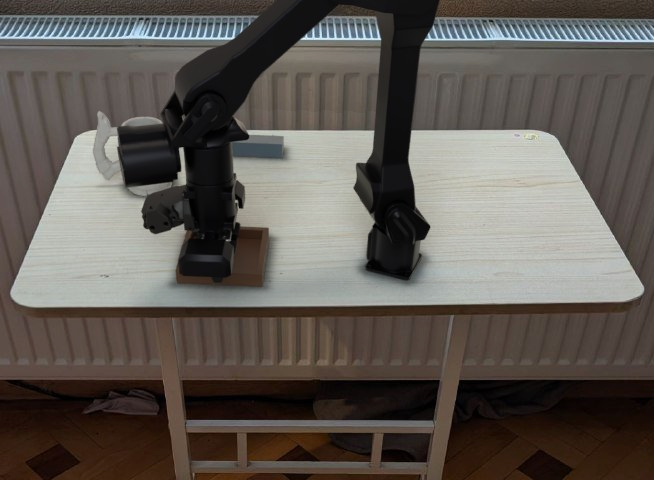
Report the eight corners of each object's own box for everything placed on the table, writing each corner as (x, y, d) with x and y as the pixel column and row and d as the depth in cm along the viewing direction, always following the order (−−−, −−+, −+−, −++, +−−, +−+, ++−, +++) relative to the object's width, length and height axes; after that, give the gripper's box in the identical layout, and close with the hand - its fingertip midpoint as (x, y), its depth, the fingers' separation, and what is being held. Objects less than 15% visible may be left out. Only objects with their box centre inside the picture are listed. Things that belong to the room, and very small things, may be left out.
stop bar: (282, 158, 139) (282, 144, 137) (210, 155, 139) (209, 141, 137) (283, 149, 141) (283, 135, 139) (213, 146, 141) (212, 132, 139)
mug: (174, 196, 129) (165, 122, 120) (96, 198, 128) (82, 124, 119) (175, 172, 134) (167, 100, 126) (100, 174, 133) (88, 101, 125)
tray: (262, 287, 112) (262, 274, 111) (176, 283, 112) (175, 270, 111) (269, 239, 121) (268, 227, 119) (189, 236, 121) (188, 224, 119)
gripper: (156, 136, 106) (168, 240, 117) (127, 213, 93) (144, 323, 103) (243, 139, 106) (247, 243, 117) (226, 216, 93) (233, 326, 103)
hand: (217, 281), depth 110 cm, fingers closed
